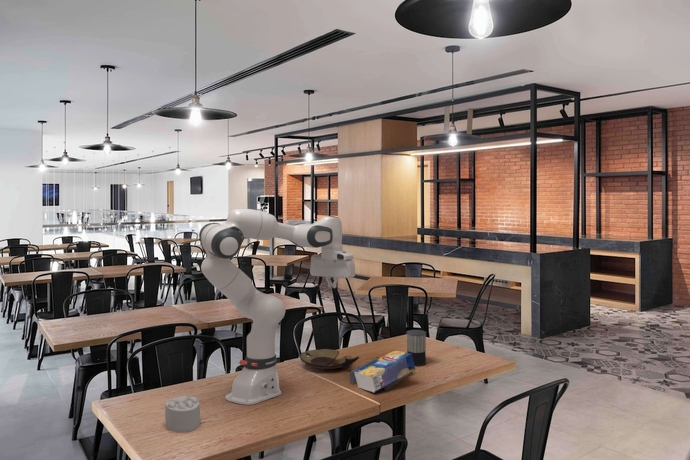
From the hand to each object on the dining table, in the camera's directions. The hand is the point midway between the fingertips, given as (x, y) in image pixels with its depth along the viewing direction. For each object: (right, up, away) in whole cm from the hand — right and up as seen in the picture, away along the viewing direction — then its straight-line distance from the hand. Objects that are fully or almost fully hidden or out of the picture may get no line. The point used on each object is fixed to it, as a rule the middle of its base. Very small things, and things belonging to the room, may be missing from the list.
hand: (332, 287), depth 226 cm
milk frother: (+34, -38, +26) cm, 58 cm away
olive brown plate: (-2, -39, +19) cm, 43 cm away
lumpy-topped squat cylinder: (-49, -42, -44) cm, 78 cm away
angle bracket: (+21, -39, +4) cm, 44 cm away
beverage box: (+13, -36, -12) cm, 40 cm away
